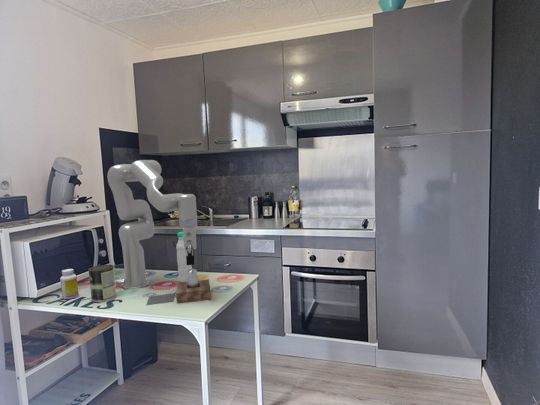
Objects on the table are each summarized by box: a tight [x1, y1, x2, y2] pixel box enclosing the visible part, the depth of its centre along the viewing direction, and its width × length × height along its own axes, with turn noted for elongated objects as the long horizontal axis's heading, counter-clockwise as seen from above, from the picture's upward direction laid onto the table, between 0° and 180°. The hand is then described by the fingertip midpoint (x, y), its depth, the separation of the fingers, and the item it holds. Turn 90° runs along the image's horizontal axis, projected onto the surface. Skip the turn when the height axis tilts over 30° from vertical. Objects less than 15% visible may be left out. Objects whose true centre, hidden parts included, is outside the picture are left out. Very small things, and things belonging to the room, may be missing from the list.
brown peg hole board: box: [175, 278, 212, 305], centre depth 154 cm, size 14×14×5 cm
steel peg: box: [187, 268, 199, 288], centre depth 153 cm, size 4×4×12 cm
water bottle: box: [175, 231, 193, 283], centre depth 177 cm, size 7×7×25 cm
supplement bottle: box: [59, 268, 80, 300], centre depth 162 cm, size 7×7×13 cm
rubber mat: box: [145, 292, 176, 306], centre depth 152 cm, size 11×11×1 cm
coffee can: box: [87, 264, 117, 303], centre depth 159 cm, size 10×10×14 cm
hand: (190, 261), depth 153 cm, fingers open, 9 cm apart
